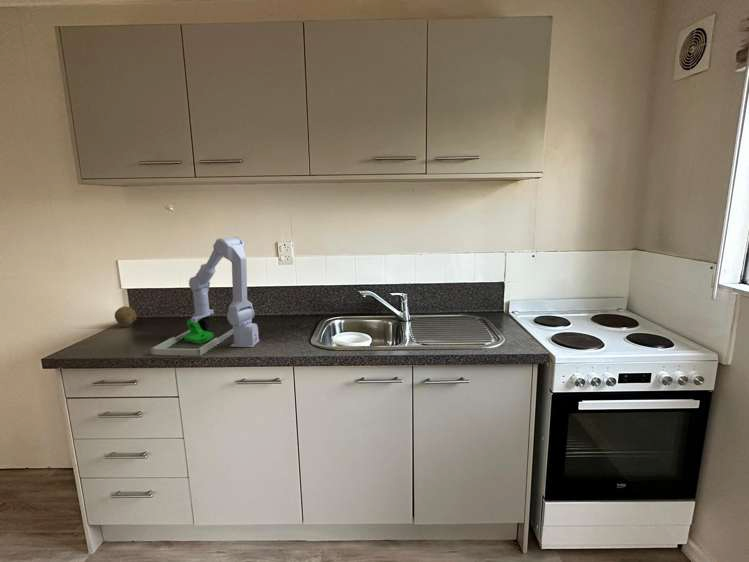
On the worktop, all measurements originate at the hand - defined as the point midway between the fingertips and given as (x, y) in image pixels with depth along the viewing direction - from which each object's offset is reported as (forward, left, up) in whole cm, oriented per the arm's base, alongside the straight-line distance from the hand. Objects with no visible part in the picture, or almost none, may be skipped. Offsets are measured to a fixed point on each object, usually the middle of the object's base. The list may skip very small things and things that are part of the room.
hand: (204, 334), depth 175 cm
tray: (0, +14, -2) cm, 14 cm away
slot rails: (0, -3, -2) cm, 3 cm away
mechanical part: (0, +4, -1) cm, 4 cm away
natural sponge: (+48, -14, -2) cm, 50 cm away
